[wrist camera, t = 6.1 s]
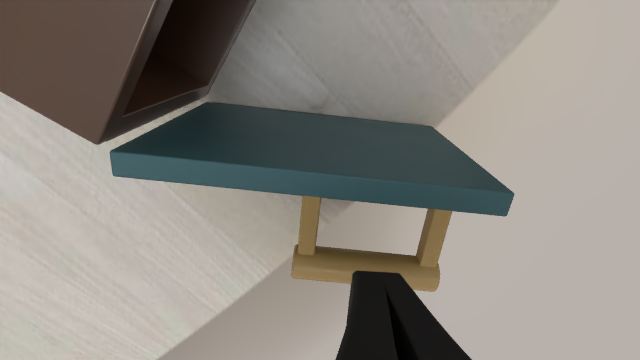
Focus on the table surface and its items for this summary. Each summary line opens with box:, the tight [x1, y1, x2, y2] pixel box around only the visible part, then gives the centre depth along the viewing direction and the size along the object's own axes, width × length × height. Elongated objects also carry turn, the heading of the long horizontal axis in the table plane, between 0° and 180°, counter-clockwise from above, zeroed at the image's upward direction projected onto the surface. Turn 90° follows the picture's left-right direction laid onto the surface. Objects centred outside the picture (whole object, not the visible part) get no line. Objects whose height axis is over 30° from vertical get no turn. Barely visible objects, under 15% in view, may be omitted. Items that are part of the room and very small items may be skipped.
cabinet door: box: [110, 102, 514, 292], centre depth 15 cm, size 6×12×8 cm, turn 84°
